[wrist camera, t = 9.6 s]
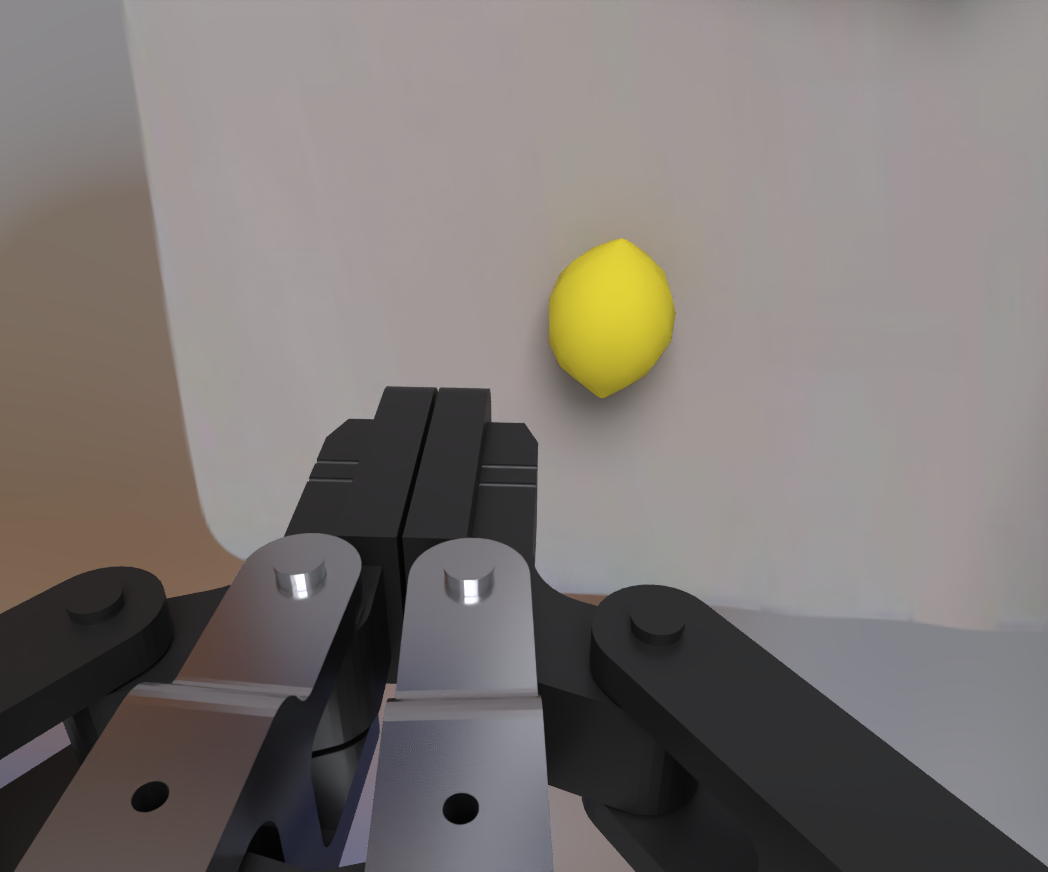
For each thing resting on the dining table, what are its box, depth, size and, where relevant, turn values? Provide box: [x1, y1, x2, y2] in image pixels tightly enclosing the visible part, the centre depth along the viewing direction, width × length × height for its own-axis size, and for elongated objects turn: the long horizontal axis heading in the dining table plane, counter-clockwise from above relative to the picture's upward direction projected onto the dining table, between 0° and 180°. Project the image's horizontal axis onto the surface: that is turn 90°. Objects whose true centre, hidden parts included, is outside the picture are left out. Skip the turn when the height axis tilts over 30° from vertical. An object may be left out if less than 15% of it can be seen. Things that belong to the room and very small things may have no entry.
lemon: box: [549, 239, 676, 398], centre depth 39 cm, size 7×5×5 cm
